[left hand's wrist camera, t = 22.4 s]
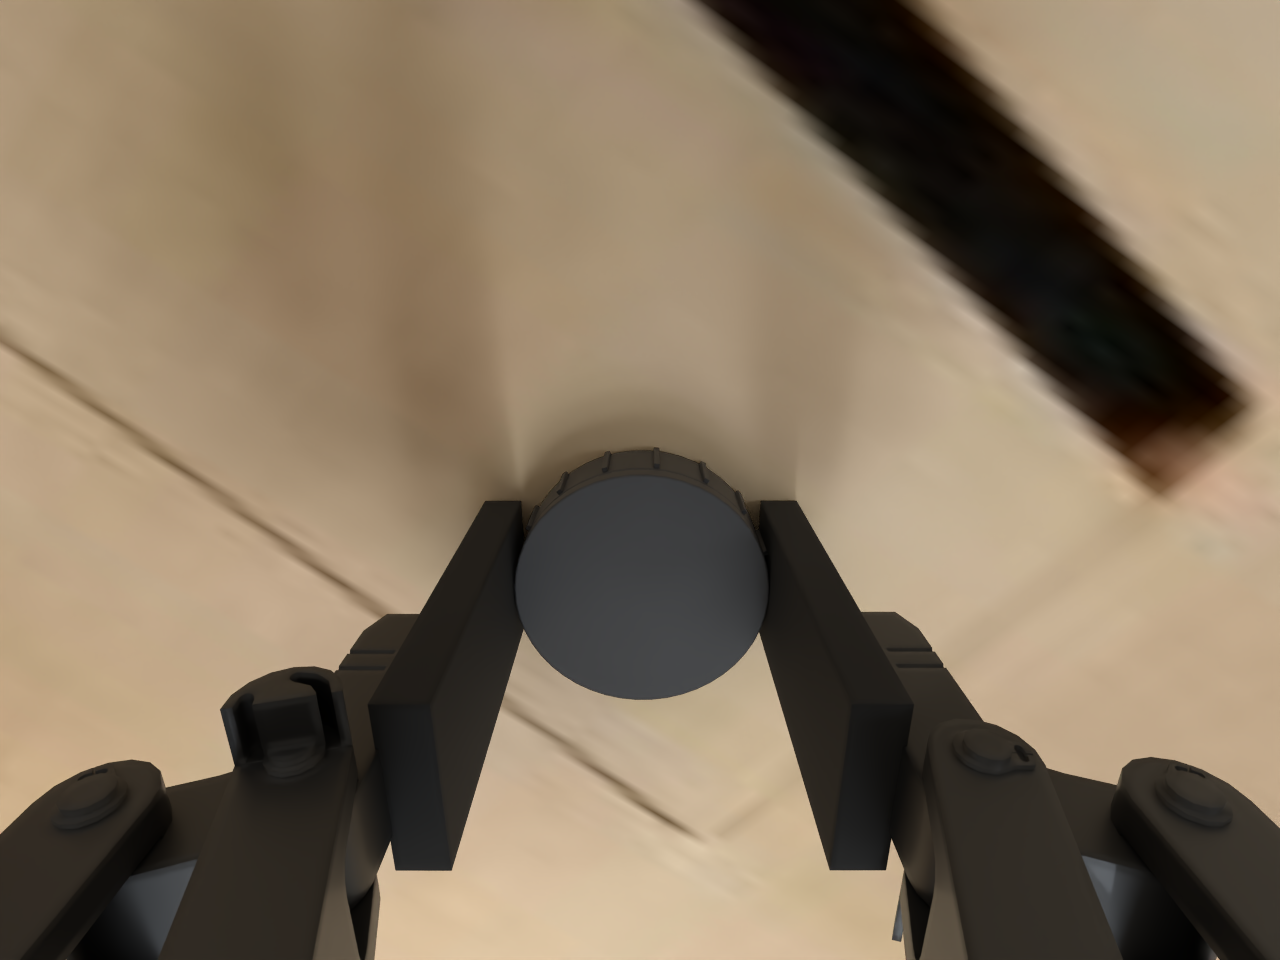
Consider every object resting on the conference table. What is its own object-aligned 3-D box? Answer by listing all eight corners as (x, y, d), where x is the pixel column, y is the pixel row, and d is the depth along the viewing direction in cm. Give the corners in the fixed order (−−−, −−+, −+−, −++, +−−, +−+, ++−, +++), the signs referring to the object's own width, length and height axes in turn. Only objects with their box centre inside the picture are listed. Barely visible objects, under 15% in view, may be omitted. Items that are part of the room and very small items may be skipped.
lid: (756, 437, 14) (769, 462, 12) (762, 650, 16) (774, 694, 14) (508, 457, 14) (493, 483, 12) (542, 664, 16) (531, 709, 14)
